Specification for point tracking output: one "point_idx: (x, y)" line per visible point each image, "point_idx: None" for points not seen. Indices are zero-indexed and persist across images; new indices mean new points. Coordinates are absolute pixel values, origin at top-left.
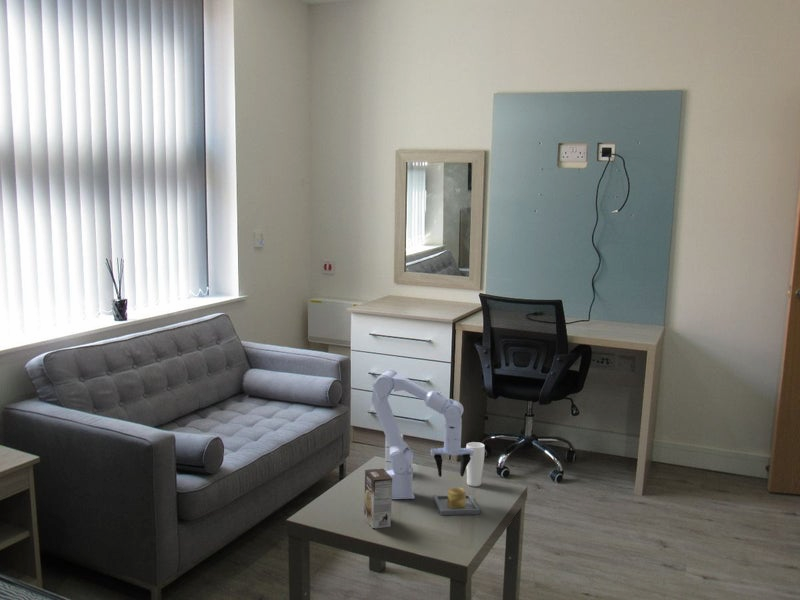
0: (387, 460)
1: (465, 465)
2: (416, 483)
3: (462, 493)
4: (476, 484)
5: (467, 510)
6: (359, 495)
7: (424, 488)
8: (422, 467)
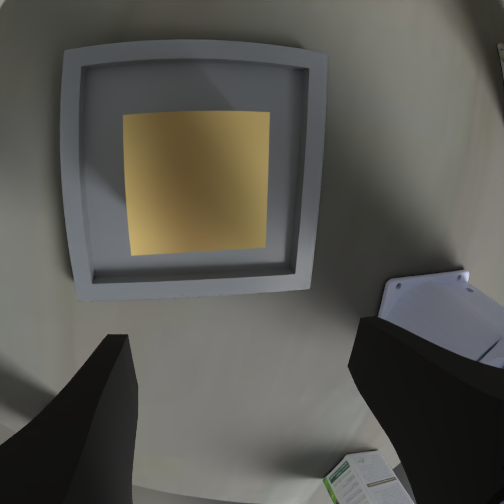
0: (394, 481)
1: (43, 432)
2: (317, 420)
3: (155, 116)
4: None
5: (146, 41)
6: (501, 300)
7: (302, 388)
8: (254, 501)
